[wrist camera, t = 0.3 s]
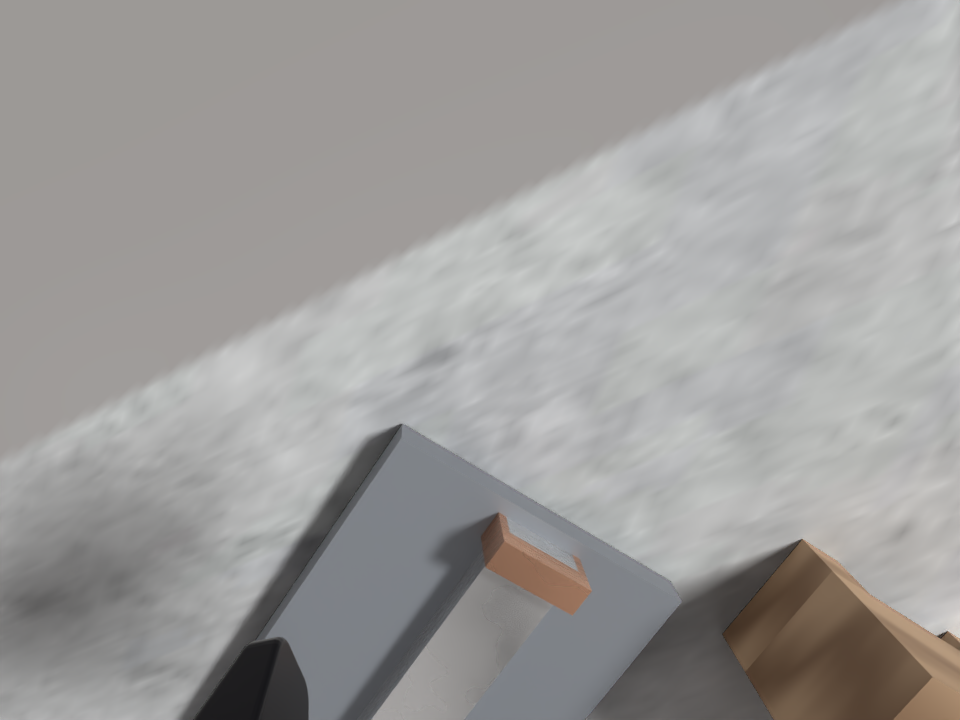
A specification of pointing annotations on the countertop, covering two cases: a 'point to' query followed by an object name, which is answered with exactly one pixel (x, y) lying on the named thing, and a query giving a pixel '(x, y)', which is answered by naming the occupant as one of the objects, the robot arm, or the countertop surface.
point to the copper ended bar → (481, 625)
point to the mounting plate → (432, 576)
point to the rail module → (840, 649)
